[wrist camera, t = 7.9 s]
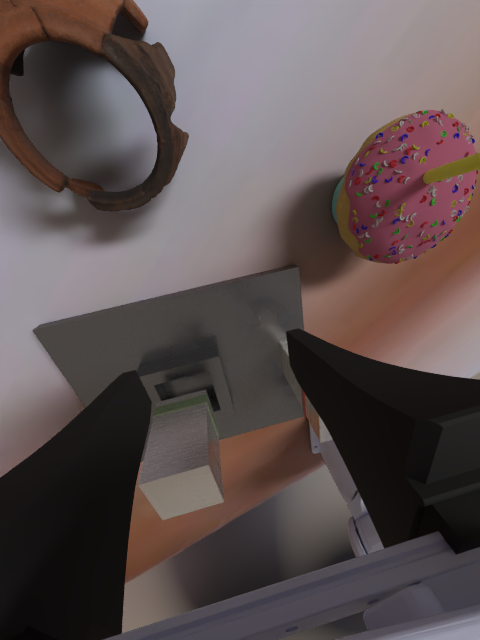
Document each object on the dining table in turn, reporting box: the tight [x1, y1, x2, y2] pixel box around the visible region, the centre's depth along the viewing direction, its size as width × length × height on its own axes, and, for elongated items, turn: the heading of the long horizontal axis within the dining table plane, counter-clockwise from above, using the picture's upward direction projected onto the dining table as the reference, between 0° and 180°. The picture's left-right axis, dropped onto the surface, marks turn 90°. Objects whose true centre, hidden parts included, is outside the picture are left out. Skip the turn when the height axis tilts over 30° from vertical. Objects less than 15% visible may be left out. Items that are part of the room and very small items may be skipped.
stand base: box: [33, 264, 333, 462], centre depth 20 cm, size 18×22×9 cm
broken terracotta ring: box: [0, 0, 189, 211], centre depth 12 cm, size 12×10×8 cm
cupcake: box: [332, 109, 480, 264], centre depth 13 cm, size 9×8×12 cm
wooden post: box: [138, 389, 224, 520], centre depth 16 cm, size 4×4×6 cm
